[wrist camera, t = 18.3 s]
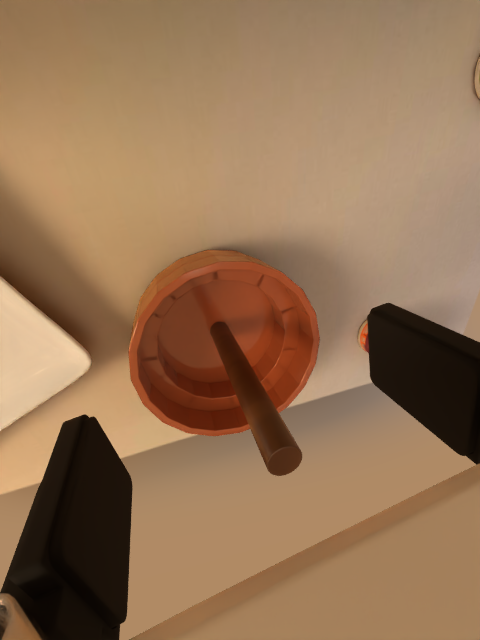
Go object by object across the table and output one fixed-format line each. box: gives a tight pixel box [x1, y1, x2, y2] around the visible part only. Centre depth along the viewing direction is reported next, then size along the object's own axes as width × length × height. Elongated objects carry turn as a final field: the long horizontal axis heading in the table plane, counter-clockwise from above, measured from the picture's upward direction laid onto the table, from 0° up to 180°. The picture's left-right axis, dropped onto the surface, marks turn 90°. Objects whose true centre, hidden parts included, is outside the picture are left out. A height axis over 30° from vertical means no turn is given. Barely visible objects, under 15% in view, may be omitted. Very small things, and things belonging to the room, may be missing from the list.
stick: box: [210, 322, 302, 476], centre depth 21 cm, size 2×2×16 cm
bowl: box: [128, 250, 320, 436], centre depth 26 cm, size 15×15×6 cm
